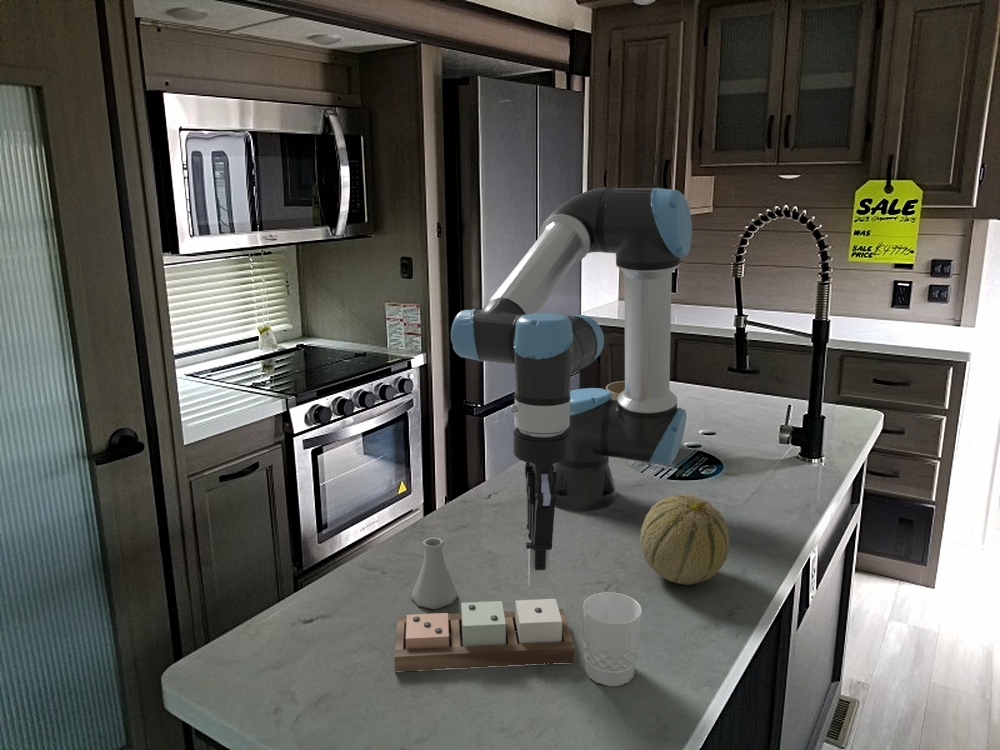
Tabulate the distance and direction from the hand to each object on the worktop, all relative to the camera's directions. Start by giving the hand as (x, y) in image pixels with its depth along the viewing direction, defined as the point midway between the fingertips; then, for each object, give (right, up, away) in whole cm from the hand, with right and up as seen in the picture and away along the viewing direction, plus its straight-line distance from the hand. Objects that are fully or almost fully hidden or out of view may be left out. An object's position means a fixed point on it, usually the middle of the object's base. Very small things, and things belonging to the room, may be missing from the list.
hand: (538, 585), depth 110 cm
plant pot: (+28, +11, +83) cm, 88 cm away
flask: (-16, -6, +15) cm, 23 cm away
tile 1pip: (0, -7, +2) cm, 7 cm away
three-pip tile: (-16, -9, +1) cm, 18 cm away
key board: (-8, -9, +2) cm, 13 cm away
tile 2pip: (-8, -7, +1) cm, 11 cm away
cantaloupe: (+26, -5, +21) cm, 34 cm away
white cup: (+10, -11, -3) cm, 15 cm away
